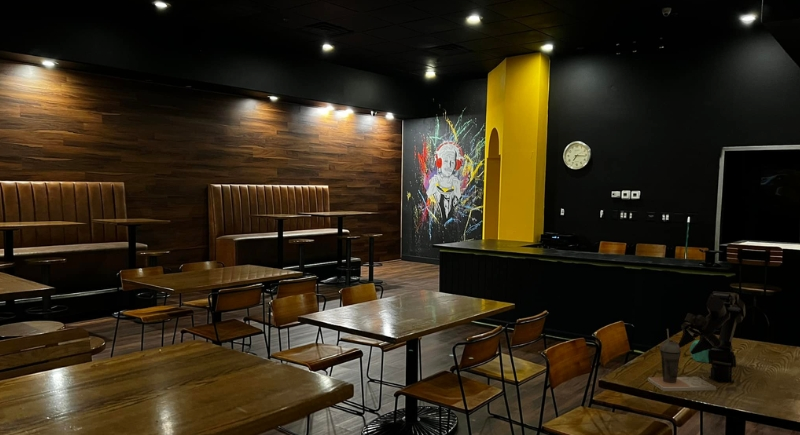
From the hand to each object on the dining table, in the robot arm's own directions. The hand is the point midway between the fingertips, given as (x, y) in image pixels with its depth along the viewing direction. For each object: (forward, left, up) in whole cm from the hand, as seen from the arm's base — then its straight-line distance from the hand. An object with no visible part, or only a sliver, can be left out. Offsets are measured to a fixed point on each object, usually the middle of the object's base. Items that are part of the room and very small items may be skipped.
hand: (684, 350), depth 220 cm
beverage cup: (+6, 0, -12) cm, 13 cm away
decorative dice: (-27, -32, -14) cm, 44 cm away
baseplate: (+1, 0, -13) cm, 13 cm away
